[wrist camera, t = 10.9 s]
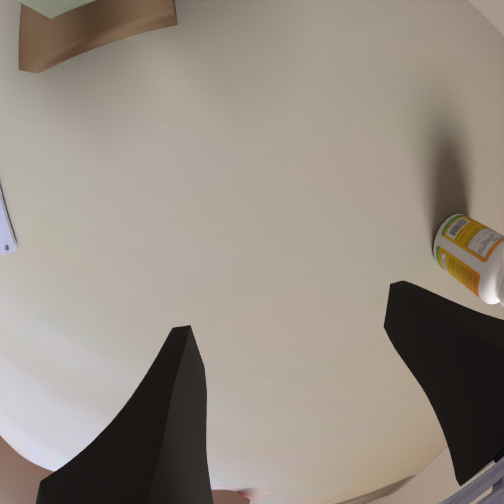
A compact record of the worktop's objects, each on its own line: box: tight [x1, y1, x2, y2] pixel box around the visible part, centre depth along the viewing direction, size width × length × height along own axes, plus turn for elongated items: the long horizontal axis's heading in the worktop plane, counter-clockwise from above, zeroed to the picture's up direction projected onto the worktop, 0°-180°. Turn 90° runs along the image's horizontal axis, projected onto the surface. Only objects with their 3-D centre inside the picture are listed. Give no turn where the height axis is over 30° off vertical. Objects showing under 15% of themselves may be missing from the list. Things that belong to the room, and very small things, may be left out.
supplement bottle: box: [433, 214, 504, 307], centre depth 18 cm, size 5×5×10 cm
